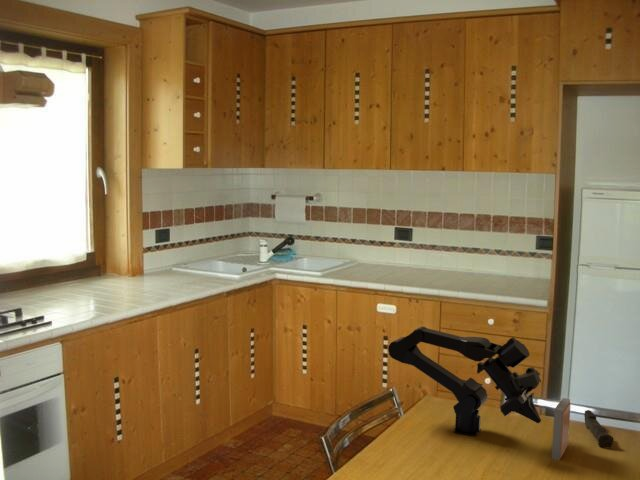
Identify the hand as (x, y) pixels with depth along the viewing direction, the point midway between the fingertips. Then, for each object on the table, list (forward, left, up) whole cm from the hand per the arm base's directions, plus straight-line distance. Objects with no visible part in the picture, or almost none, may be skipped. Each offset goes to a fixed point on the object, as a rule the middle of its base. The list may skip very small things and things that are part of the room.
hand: (539, 422), depth 186 cm
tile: (+6, -1, -7) cm, 9 cm away
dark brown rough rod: (+15, +17, -8) cm, 23 cm away
